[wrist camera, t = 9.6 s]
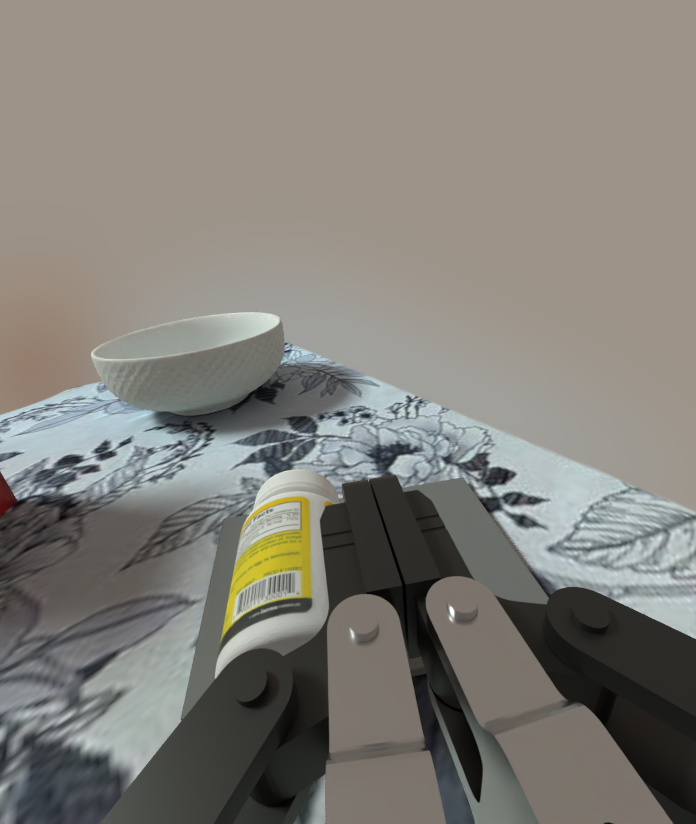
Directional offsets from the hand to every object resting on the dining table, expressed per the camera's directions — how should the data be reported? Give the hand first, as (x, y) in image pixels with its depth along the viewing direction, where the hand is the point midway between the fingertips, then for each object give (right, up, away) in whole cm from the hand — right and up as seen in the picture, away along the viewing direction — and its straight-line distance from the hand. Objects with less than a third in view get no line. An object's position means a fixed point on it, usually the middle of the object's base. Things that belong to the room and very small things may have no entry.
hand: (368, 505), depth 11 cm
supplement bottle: (-2, -5, 0) cm, 6 cm away
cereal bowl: (-15, +4, +29) cm, 33 cm away
